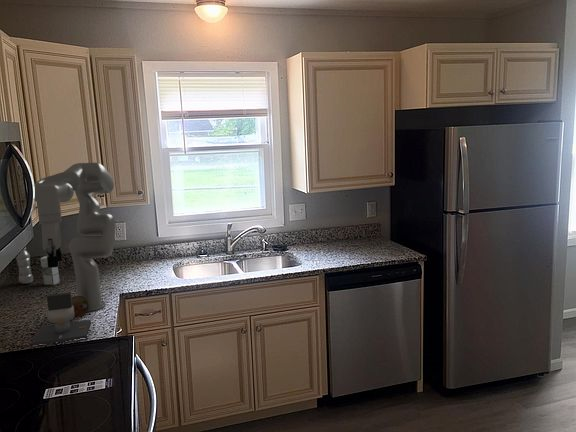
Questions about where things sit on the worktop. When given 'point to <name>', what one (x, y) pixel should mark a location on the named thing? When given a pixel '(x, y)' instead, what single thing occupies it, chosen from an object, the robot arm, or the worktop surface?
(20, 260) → the plastic bottle
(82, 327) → the mount
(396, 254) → the worktop surface
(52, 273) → the syrup box
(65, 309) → the rotary knob
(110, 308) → the worktop surface
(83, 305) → the tin
